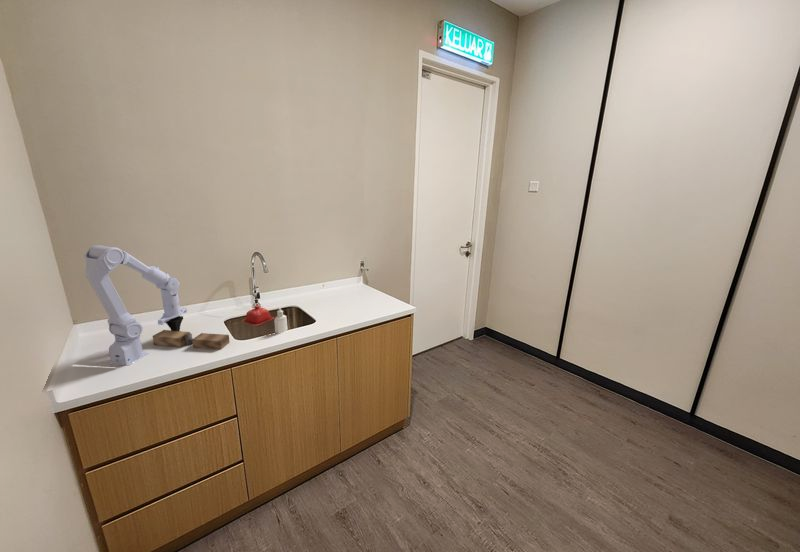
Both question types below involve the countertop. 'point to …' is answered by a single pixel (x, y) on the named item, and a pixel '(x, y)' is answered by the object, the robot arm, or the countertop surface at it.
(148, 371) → the countertop surface
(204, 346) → the oblong wooden brick
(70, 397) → the countertop surface
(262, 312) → the butter dish
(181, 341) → the swing leaf
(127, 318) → the robot arm
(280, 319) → the eye dropper bottle
